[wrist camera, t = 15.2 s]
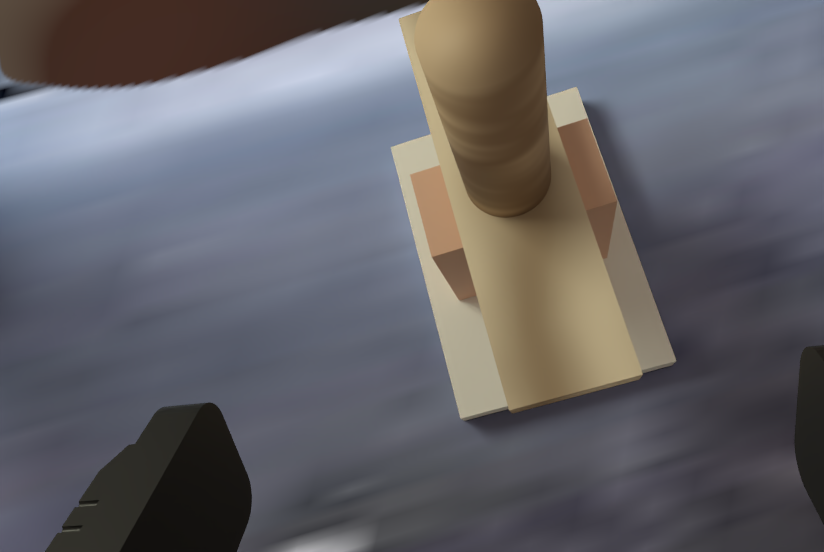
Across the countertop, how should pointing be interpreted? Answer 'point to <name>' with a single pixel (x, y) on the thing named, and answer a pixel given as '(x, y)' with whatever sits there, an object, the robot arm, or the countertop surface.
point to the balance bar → (517, 201)
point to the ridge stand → (454, 283)
